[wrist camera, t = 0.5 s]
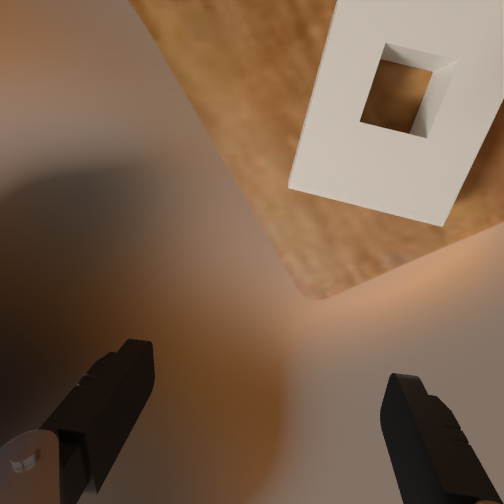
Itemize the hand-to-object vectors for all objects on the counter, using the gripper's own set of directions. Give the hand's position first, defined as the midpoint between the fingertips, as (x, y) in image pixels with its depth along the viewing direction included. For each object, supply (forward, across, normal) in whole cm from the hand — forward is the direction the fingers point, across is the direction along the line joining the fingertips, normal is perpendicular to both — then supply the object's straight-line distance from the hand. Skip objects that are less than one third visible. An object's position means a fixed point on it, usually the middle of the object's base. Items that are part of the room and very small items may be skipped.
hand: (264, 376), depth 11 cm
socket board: (+27, -9, -11) cm, 31 cm away
